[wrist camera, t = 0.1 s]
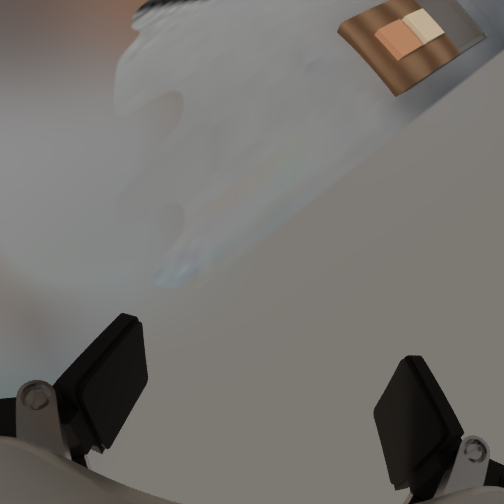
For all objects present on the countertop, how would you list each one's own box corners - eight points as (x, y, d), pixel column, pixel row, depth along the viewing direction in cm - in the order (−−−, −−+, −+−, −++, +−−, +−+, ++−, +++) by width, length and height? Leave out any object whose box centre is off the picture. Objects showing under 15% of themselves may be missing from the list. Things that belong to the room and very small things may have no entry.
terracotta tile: (397, 60, 27) (403, 56, 25) (374, 35, 26) (378, 29, 24) (417, 49, 25) (423, 44, 24) (395, 24, 25) (399, 18, 23)
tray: (452, 57, 27) (459, 53, 24) (401, 0, 25) (406, -6, 22) (479, 40, 24) (486, 37, 21) (434, -12, 21) (440, -17, 19)
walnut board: (395, 96, 31) (403, 92, 28) (337, 32, 29) (340, 23, 26) (451, 58, 27) (460, 53, 24) (401, 1, 25) (407, -7, 22)
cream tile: (422, 45, 25) (428, 41, 23) (400, 21, 24) (405, 15, 22) (439, 36, 24) (444, 32, 22) (417, 13, 23) (422, 8, 21)
